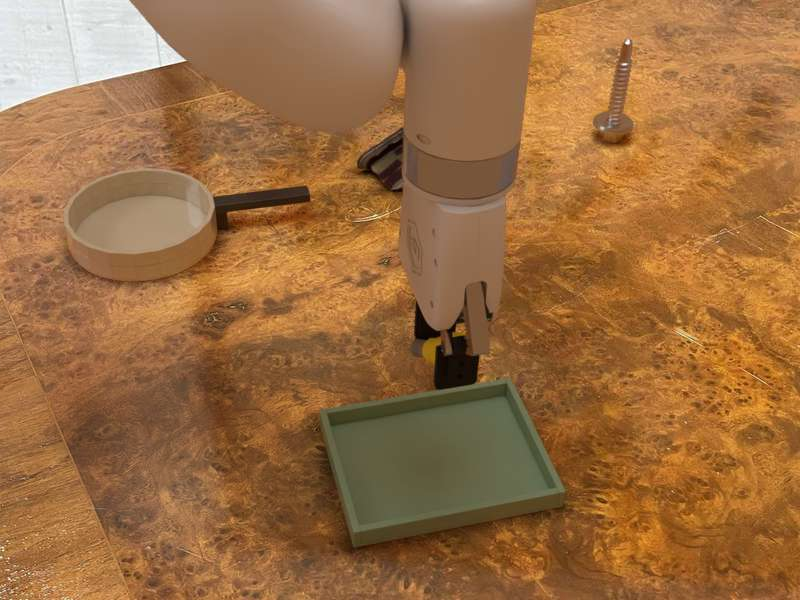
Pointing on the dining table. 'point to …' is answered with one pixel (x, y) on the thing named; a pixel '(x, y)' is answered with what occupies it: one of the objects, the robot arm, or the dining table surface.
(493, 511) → the tray
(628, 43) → the screw
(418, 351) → the light bulb
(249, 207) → the pan handle
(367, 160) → the striped layered wedge
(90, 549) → the dining table surface
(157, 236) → the pan
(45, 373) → the dining table surface
